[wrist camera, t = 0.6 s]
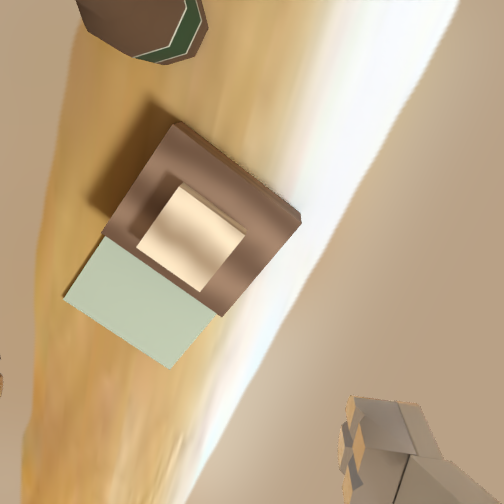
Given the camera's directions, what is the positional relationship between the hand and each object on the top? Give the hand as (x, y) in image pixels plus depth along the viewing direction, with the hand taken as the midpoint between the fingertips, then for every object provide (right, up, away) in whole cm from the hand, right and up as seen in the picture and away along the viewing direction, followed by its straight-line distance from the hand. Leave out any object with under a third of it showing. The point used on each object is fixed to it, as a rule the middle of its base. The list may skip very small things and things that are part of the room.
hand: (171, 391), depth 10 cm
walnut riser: (-3, +7, +38) cm, 39 cm away
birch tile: (-4, +5, +35) cm, 36 cm away
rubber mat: (-11, -3, +43) cm, 44 cm away
